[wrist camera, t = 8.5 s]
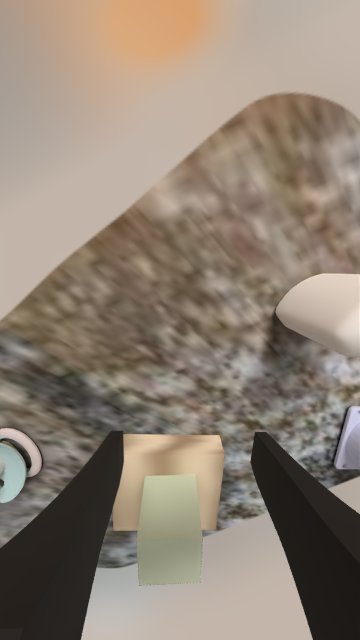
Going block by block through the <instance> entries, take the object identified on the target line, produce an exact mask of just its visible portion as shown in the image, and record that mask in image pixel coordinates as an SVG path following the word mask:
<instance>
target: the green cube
mask: <svg viewBox="0 0 360 640" xmlns="http://www.w3.org/2000/svg"><path fill="white" fill-rule="evenodd" d="M202 541H203V537H202V528H201V519H200V511H199V502H198V493H197V485H196V476H195V474H193V475H162V476H145V479H144V487H143V494H142V502H141V510H140V517H139V525H138V532H137V540H136V543H137V559H138V576H139V586H142V585H161V584H177V583H178V584H179V583H196V582H197V583H198V582H201V565H202V563H201V562H202Z"/></svg>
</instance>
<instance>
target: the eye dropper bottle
mask: <svg viewBox="0 0 360 640" xmlns="http://www.w3.org/2000/svg"><path fill="white" fill-rule="evenodd" d="M275 312H276V315H277V317H278V318H279V319H280V321H281V322H282V323H283V325H284V326H286V327H287V328H289V329H291V330H293V331H295V332H297V333H299V334H301V335H303V336H305V337H307V338H309V339H311V340H313V341H315V342H317V343H319V344H321V345H323V346H325V347H327V348H329V349H332V350H334V351H336V352H338V353H340V354H343V355H346V356H360V274H319V275H315V276H313V277H310V278H308V279H306V280H304V281H302V282H300V283H299V284H297V285H296V286H294V287H293V288H292V289H291V290H290V291H289V292H288V293H287V294H286V295H285V296H284V297H283V298H282V300H281V301H280V302H279V304H278V306H277V308H276V311H275Z"/></svg>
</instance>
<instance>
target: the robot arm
mask: <svg viewBox="0 0 360 640" xmlns="http://www.w3.org/2000/svg"><path fill="white" fill-rule="evenodd" d="M123 465H124V440H123V431H111V432H110V433H109V434H108V436H107V437H106V439H105V440H104V441H103V443H102V444H101V445H100V447H99V448H98V449H97V451H96V452H95V453H94V455H93V456H92V457H91V458H90V460H89V461H88V462H87V463H86V465H85V466H84V467H83V468H82V469H81V471H80V472H79V473H78V474H77V475H76V476H75V477H74V479H73V480H72V481H71V482H70V483H69V484H68V485H67V486H66V488H65V489H64V490H63V491H62V492H61V493H60V494H59V495H58V496H57V497H56V498H55V499H54V500H53V501H52V502H51V503H50V504H49V505H48V506H47V507H46V508H45V509H44V510H43V511H42V512H41V513H40V514H39V515H38V516H37V517H36V518H34V519H33V520H32V521H31V522H30V523H29V524H28V525H27V526H26V527H25V528H24V529H22V530H21V531H20V532H19V533H18V534H17V535H16V536H14V537H13V538H12V539H11V540H10V541H9V542H7V543H6V544H5V545H4V546H3V547H1V548H0V640H81V636H82V631H83V626H84V622H85V617H86V613H87V608H88V602H89V599H90V594H91V589H92V584H93V580H94V576H95V571H96V567H97V563H98V558H99V554H100V550H101V546H102V543H103V539H104V536H105V532H106V529H107V526H108V522H109V519H110V516H111V512H112V509H113V506H114V502H115V499H116V495H117V492H118V489H119V485H120V480H121V475H122V470H123ZM251 465H252V469H253V472H254V476H255V479H256V482H257V485H258V488H259V490H260V492H261V495H262V497H263V500H264V502H265V505H266V507H267V509H268V512H269V514H270V517H271V519H272V521H273V524H274V526H275V529H276V531H277V533H278V536H279V538H280V541H281V543H282V546H283V548H284V551H285V554H286V557H287V560H288V563H289V566H290V569H291V572H292V575H293V578H294V581H295V583H296V587H297V590H298V593H299V596H300V599H301V603H302V606H303V609H304V612H305V615H306V618H307V622H308V625H309V628H310V632H311V635H312V638H313V640H360V514H359V513H357V512H356V511H355V510H353V509H352V508H351V507H349V506H348V505H347V504H345V503H344V502H343V501H341V500H340V499H339V498H338V497H336V496H335V495H334V494H333V493H331V492H330V491H329V490H328V489H327V488H325V487H324V486H323V485H322V484H321V483H320V482H318V481H317V480H316V479H315V478H314V477H313V476H312V475H310V474H309V473H308V472H307V471H306V470H305V469H304V468H303V467H302V466H301V465H299V464H298V463H297V462H296V461H295V460H294V459H293V458H292V457H291V456H290V455H289V454H288V453H287V452H286V451H285V450H284V449H283V448H282V447H281V446H280V445H279V444H278V443H277V442H276V441H275V440H274V439H273V438H272V437H271V436H270V435H269V434H268V433H266V432H255V436H254V442H253V449H252V455H251ZM334 466H335V467H336V468H337V469H360V406H353V407H350V408H349V409H348V413H347V416H346V420H345V424H344V427H343V431H342V435H341V438H340V442H339V446H338V450H337V453H336V457H335V461H334Z"/></svg>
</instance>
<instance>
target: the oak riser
mask: <svg viewBox="0 0 360 640" xmlns="http://www.w3.org/2000/svg"><path fill="white" fill-rule="evenodd" d="M123 440H124V465H123V470H122V475H121V480H120V485H119V489H118V492H117V495H116V499H115V502H114V506H113V527H114V531H138V525H139V517H140V510H141V502H142V494H143V487H144V479H145V476H162V475H193V474H195V476H196V485H197V493H198V502H199V511H200V519H201V528H202V530H216V524H217V516H218V507H219V499H220V491H221V483H222V475H223V467H224V458H225V454H224V450H223V447H222V443H221V440H220V436H219V435H141V434H123Z"/></svg>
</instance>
